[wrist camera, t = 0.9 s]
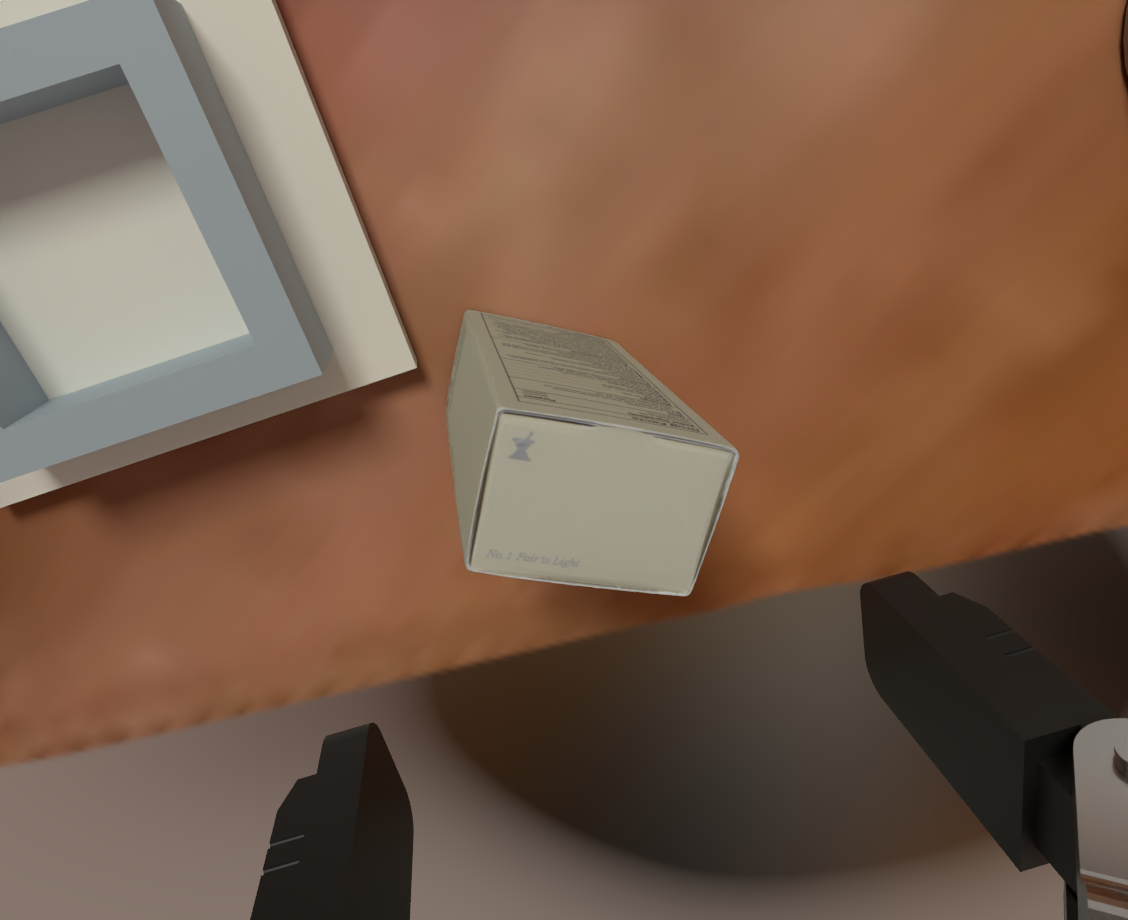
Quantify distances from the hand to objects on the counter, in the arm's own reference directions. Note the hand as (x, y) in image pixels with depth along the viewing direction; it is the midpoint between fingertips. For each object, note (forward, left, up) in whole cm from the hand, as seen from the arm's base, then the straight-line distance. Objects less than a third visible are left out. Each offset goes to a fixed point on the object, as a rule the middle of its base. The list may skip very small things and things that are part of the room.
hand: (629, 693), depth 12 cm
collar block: (+11, -9, -19) cm, 23 cm away
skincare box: (-1, 0, -19) cm, 19 cm away
